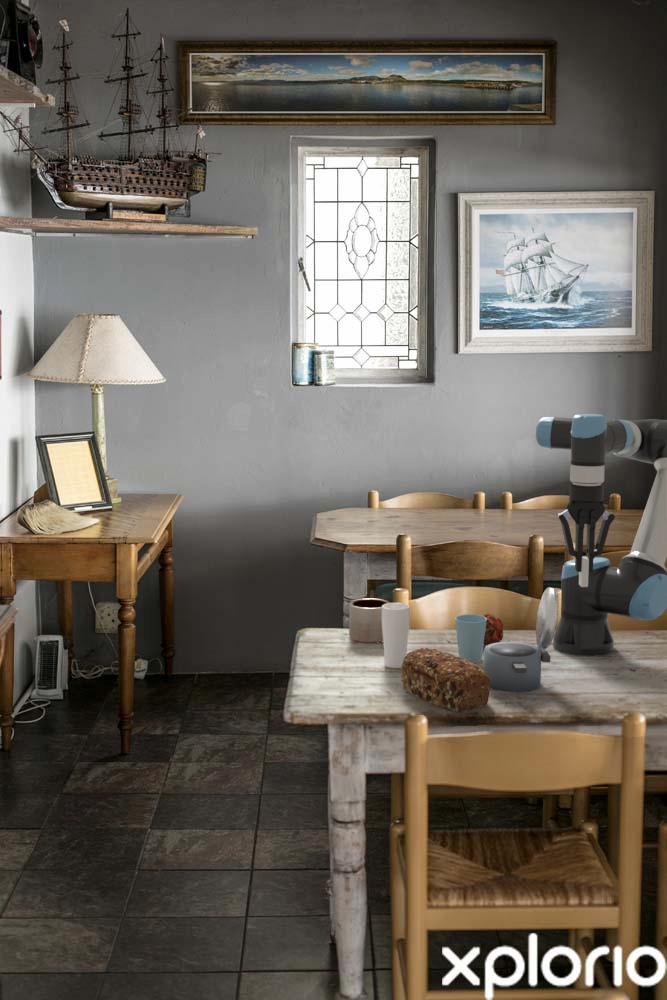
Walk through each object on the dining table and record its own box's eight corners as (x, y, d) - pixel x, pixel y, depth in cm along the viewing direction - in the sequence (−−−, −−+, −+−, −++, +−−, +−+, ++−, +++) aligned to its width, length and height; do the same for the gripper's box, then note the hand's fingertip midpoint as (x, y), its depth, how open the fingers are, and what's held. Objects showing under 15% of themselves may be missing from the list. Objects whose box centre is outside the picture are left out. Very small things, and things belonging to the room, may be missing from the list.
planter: (391, 644, 291) (391, 608, 289) (349, 644, 291) (349, 608, 289) (389, 632, 301) (389, 597, 300) (349, 632, 302) (349, 598, 300)
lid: (532, 640, 265) (541, 641, 265) (544, 657, 251) (554, 659, 251) (544, 581, 263) (554, 582, 263) (557, 595, 249) (567, 597, 249)
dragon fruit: (490, 657, 284) (479, 650, 296) (516, 636, 285) (503, 630, 297) (470, 631, 284) (459, 625, 295) (496, 610, 284) (484, 605, 296)
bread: (399, 692, 254) (400, 650, 252) (435, 683, 260) (435, 641, 258) (456, 715, 239) (456, 670, 237) (492, 705, 245) (492, 661, 244)
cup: (454, 662, 275) (454, 621, 273) (455, 653, 282) (455, 613, 280) (485, 664, 274) (486, 622, 272) (485, 655, 281) (486, 614, 279)
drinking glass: (407, 670, 269) (407, 610, 266) (379, 669, 270) (379, 608, 268) (411, 662, 275) (411, 603, 273) (383, 660, 276) (383, 601, 274)
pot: (537, 668, 270) (538, 636, 268) (556, 698, 249) (557, 663, 248) (477, 669, 270) (477, 637, 268) (491, 699, 249) (491, 664, 247)
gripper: (611, 480, 256) (607, 581, 259) (554, 481, 255) (551, 582, 259) (620, 485, 248) (616, 589, 252) (561, 485, 248) (558, 589, 252)
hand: (583, 585), depth 256 cm, fingers closed
